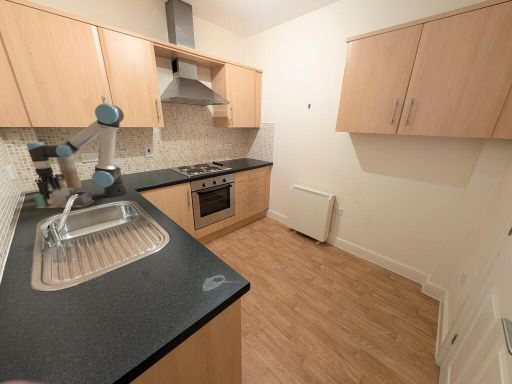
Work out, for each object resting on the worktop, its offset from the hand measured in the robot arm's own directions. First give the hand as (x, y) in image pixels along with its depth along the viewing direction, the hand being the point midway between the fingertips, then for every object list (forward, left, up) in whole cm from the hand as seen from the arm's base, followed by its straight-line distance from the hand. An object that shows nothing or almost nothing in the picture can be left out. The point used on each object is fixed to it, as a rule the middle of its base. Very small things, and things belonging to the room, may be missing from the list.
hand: (55, 201), depth 133 cm
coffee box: (+11, -17, -2) cm, 20 cm away
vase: (+16, -37, -2) cm, 40 cm away
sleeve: (-15, 0, -2) cm, 16 cm away
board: (-6, 0, -2) cm, 7 cm away
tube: (-4, 0, -1) cm, 4 cm away
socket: (+6, 0, -2) cm, 6 cm away
